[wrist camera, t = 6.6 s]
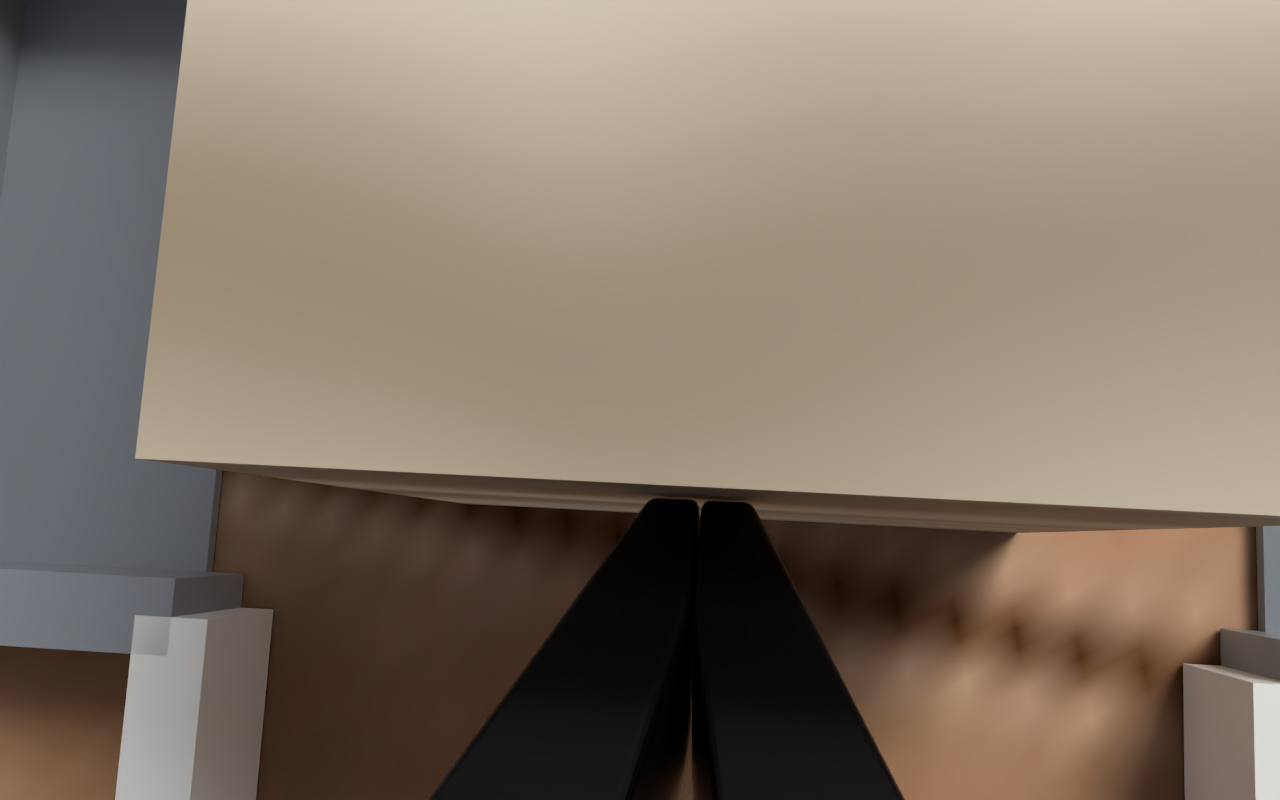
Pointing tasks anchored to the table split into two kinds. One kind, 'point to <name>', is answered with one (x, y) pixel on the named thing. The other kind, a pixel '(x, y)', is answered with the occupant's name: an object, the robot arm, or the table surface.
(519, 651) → the table surface
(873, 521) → the birch block
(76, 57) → the low angular wall frame
